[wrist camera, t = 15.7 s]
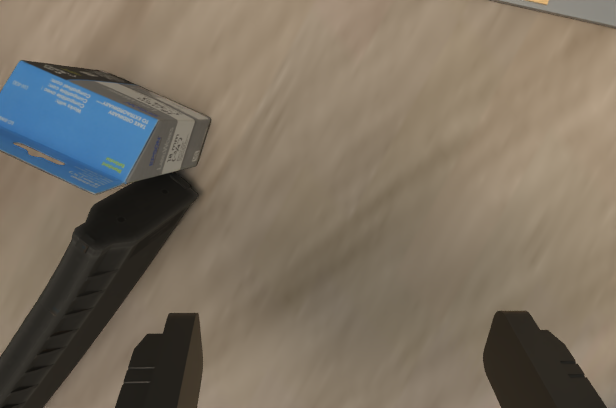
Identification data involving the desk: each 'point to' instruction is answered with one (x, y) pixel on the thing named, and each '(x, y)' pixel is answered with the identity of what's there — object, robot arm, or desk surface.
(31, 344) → the black tall piece
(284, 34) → the desk surface
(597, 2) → the dashed lane plates
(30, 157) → the label tape cartridge
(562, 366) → the robot arm
